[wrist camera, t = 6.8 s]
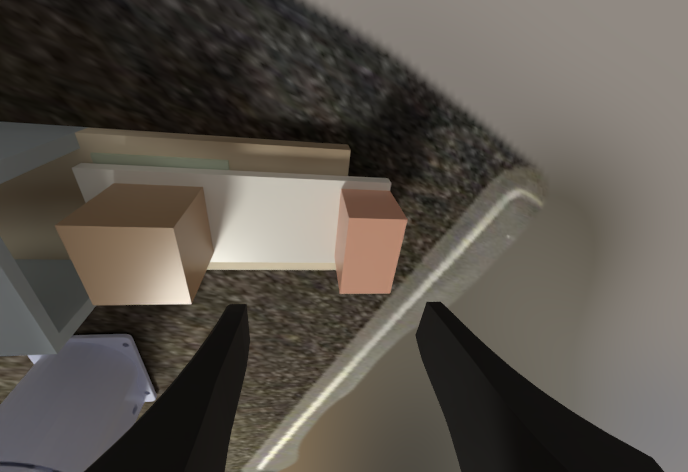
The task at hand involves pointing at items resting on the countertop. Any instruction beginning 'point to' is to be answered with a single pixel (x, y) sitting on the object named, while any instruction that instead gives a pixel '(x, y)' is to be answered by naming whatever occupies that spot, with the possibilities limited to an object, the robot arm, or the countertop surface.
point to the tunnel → (35, 274)
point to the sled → (224, 228)
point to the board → (147, 150)
